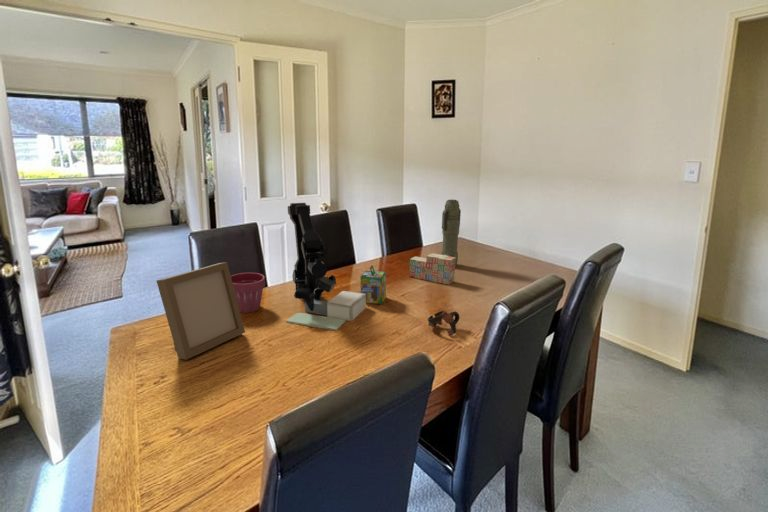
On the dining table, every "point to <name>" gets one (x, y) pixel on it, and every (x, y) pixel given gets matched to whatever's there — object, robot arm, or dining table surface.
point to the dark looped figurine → (447, 318)
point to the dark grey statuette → (451, 228)
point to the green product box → (374, 286)
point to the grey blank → (318, 307)
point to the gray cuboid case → (346, 305)
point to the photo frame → (201, 309)
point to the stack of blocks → (433, 268)
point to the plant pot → (248, 290)
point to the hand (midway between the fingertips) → (314, 308)
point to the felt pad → (316, 321)
